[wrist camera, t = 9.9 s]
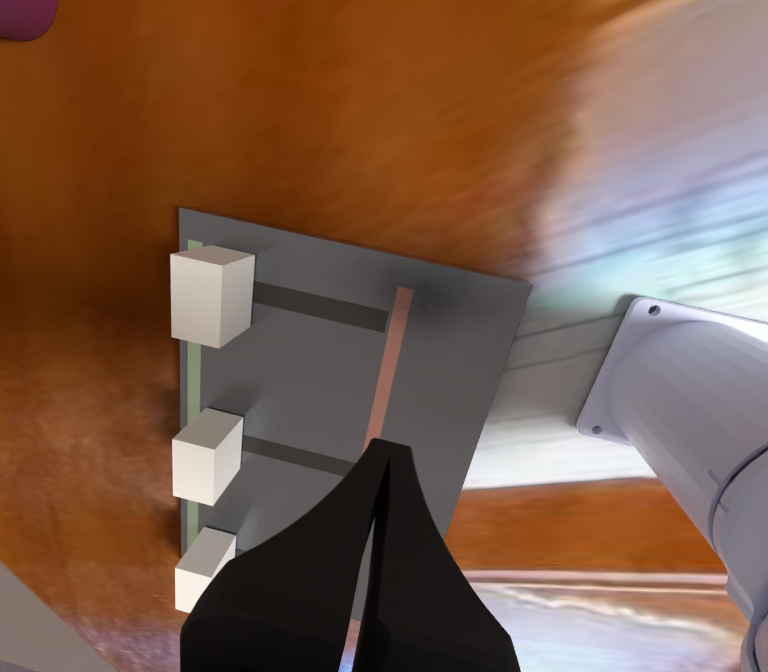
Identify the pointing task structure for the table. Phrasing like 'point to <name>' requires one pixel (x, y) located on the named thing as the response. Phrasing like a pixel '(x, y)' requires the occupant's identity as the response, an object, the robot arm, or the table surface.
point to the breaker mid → (206, 456)
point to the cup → (25, 18)
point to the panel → (343, 372)
